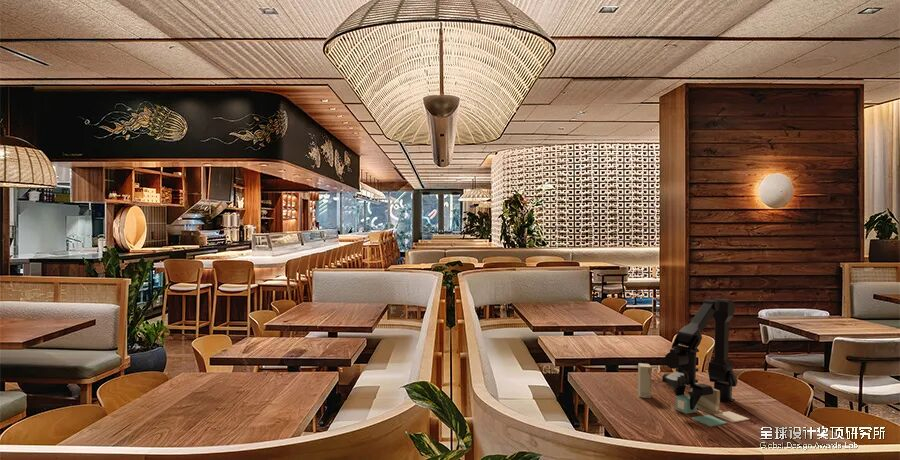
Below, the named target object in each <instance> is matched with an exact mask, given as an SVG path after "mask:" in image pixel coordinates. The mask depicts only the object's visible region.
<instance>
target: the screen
mask: <svg viewBox="0 0 900 460" xmlns="http://www.w3.org/2000/svg"><path fill="white" fill-rule="evenodd" d="M695 384H700V383H699V382H698V383H695ZM712 388H713V394H711V395H704V396H701V398H700V399H699V401H698V402H697V408H698V410H700V411H703V412H705V413H708V414H711V415H712V416H715V415H714V414H719V413H723V412H724V411H723V410H721V409H720V405H721V404H720V403H721V401H720V390H717V389H714V387H712ZM690 391H692V388H689V392H690Z"/></svg>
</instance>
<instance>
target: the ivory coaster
mask: <svg viewBox="0 0 900 460" xmlns="http://www.w3.org/2000/svg"><path fill="white" fill-rule="evenodd" d="M713 416H714V417H718V418H719V419H723V420H726V421H728V422H731V423H738V422H743V421H749V420H750V418H749V417H746V416H744V415H741V414H738V413H735V412H732V411H731V410H727V411H723V413H719V414H714V415H713Z"/></svg>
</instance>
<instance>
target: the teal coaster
mask: <svg viewBox="0 0 900 460" xmlns="http://www.w3.org/2000/svg"><path fill="white" fill-rule="evenodd" d="M691 419H692V420H693V421H696V422H698V421H699V422H698V423H701V424H703V425H706V426H708V427H715V426H721V425H727V424H728V422H726V421H724V420H722V419H721V418H717V417H716V416H713V415H709V414H705V415H697V416H692V417H691Z"/></svg>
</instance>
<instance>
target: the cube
mask: <svg viewBox="0 0 900 460" xmlns="http://www.w3.org/2000/svg"><path fill="white" fill-rule="evenodd" d="M676 409H677V410H676ZM675 410H676V411H679V412H681V413H684V414H691V413H693V412H694V413H697V404H696V406H695V407H694V409H693V410H691V409H690V395H689V394H687V393H686V394H685V393H684V395H678V396H676V395H675Z"/></svg>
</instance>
